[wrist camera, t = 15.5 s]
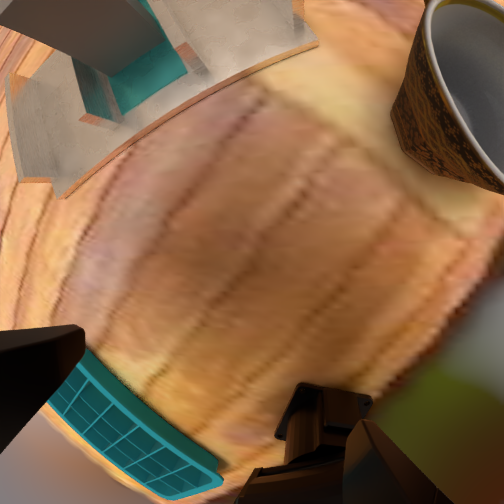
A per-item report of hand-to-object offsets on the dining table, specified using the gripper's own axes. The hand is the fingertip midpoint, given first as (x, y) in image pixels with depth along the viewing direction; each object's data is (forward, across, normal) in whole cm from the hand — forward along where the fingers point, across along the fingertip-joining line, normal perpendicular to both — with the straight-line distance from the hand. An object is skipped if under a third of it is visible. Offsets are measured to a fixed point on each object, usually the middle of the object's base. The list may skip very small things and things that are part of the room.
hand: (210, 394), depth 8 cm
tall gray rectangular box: (+11, +14, -15) cm, 23 cm away
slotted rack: (+12, +14, -15) cm, 24 cm away
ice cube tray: (+13, +9, +20) cm, 25 cm away
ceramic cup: (+12, -8, -15) cm, 21 cm away
